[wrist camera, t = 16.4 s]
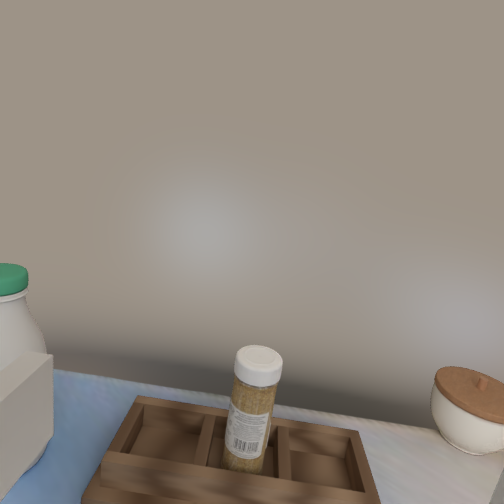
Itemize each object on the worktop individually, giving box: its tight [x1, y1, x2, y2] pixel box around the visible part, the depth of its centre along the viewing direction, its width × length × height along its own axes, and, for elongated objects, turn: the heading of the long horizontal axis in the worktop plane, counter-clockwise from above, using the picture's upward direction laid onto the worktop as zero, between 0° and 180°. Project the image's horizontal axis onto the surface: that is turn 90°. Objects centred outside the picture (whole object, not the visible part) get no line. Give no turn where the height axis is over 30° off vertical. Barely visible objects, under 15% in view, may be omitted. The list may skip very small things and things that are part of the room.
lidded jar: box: [431, 366, 504, 456], centre depth 49 cm, size 11×11×9 cm
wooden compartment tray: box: [81, 395, 381, 504], centre depth 38 cm, size 28×12×4 cm, turn 87°
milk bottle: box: [0, 263, 47, 473], centre depth 35 cm, size 8×8×20 cm
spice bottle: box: [221, 345, 283, 476], centre depth 37 cm, size 5×5×13 cm
